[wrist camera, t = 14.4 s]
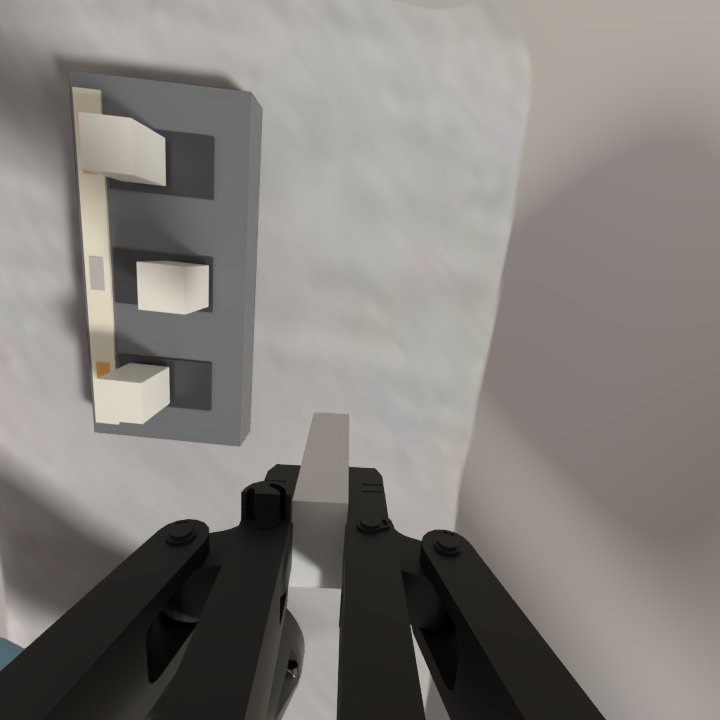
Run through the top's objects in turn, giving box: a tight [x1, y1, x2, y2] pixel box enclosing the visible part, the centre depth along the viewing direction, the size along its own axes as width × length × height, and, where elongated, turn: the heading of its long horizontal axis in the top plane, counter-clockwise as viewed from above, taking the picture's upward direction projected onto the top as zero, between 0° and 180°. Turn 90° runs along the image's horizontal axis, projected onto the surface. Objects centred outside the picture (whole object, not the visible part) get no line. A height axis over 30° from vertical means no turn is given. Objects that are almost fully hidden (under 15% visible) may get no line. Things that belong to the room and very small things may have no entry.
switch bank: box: [68, 70, 262, 446], centre depth 31 cm, size 26×12×3 cm, turn 174°
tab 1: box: [78, 112, 166, 186], centre depth 25 cm, size 3×3×4 cm
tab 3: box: [137, 261, 209, 314], centre depth 27 cm, size 3×3×4 cm
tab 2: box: [96, 363, 170, 424], centre depth 29 cm, size 3×3×4 cm
